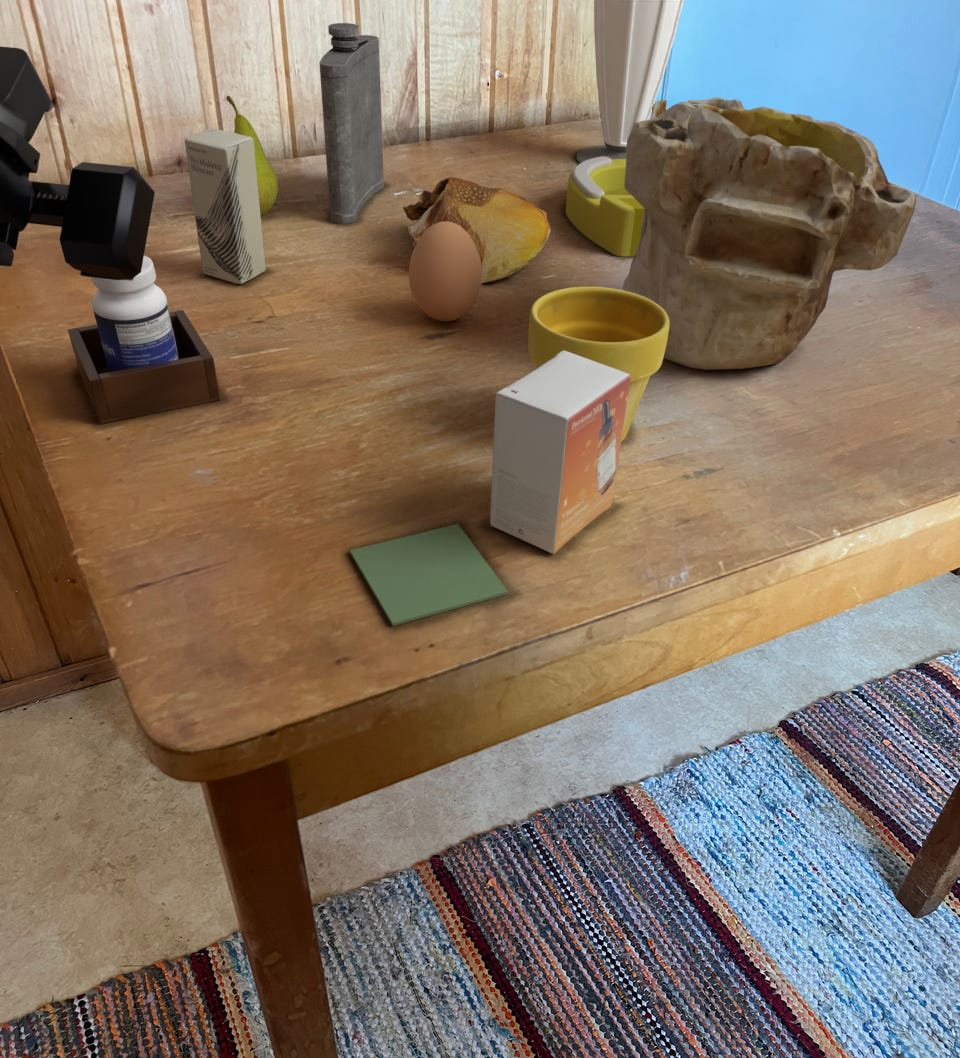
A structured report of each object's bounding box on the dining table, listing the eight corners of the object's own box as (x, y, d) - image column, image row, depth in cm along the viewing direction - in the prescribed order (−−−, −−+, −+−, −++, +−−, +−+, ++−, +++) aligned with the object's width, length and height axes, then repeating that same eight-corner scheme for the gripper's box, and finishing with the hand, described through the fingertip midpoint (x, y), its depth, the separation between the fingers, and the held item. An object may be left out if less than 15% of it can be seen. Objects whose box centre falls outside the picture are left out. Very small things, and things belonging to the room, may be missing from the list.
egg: (444, 341, 90) (445, 243, 84) (394, 317, 93) (392, 221, 87) (495, 319, 94) (499, 224, 87) (445, 297, 97) (446, 203, 91)
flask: (320, 221, 111) (306, 38, 98) (358, 180, 121) (349, 10, 109) (351, 225, 110) (341, 41, 98) (386, 183, 120) (381, 12, 108)
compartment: (101, 424, 78) (89, 380, 75) (78, 371, 84) (67, 328, 81) (220, 400, 81) (213, 357, 78) (190, 350, 87) (183, 309, 85)
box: (201, 275, 99) (178, 137, 90) (229, 260, 102) (209, 125, 93) (243, 286, 97) (224, 147, 88) (270, 271, 100) (254, 135, 91)
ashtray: (581, 256, 105) (586, 208, 102) (557, 190, 121) (560, 146, 117) (731, 256, 107) (741, 209, 103) (688, 191, 122) (695, 147, 118)
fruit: (276, 226, 109) (264, 107, 101) (224, 224, 109) (207, 105, 101) (285, 208, 113) (273, 92, 105) (234, 206, 113) (219, 90, 105)
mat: (392, 626, 61) (392, 622, 61) (350, 553, 66) (349, 550, 66) (507, 594, 64) (507, 591, 64) (457, 526, 69) (458, 523, 69)
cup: (607, 179, 124) (630, -25, 109) (559, 153, 131) (574, -42, 117) (680, 167, 128) (711, -30, 114) (629, 142, 136) (652, -46, 121)
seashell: (566, 195, 107) (542, 219, 95) (551, 265, 111) (525, 298, 99) (421, 158, 108) (379, 177, 96) (411, 229, 112) (369, 256, 100)
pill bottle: (108, 371, 83) (80, 253, 76) (177, 361, 85) (155, 246, 78) (115, 403, 79) (85, 283, 73) (187, 393, 81) (164, 274, 74)
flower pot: (584, 384, 85) (597, 272, 78) (676, 433, 79) (699, 318, 72) (496, 423, 80) (501, 307, 73) (587, 478, 74) (603, 358, 67)
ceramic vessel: (895, 207, 95) (980, 1, 71) (835, 438, 93) (902, 306, 68) (666, 170, 100) (672, -35, 76) (602, 389, 97) (587, 249, 73)
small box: (553, 557, 67) (566, 420, 60) (487, 526, 69) (493, 391, 62) (614, 505, 72) (634, 372, 64) (551, 477, 74) (563, 347, 67)
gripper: (103, 14, 52) (215, 167, 68) (-208, -11, 55) (-31, 142, 70) (67, 217, 52) (188, 324, 68) (-244, 183, 55) (-58, 294, 70)
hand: (71, 266), depth 69 cm, fingers open, 9 cm apart
